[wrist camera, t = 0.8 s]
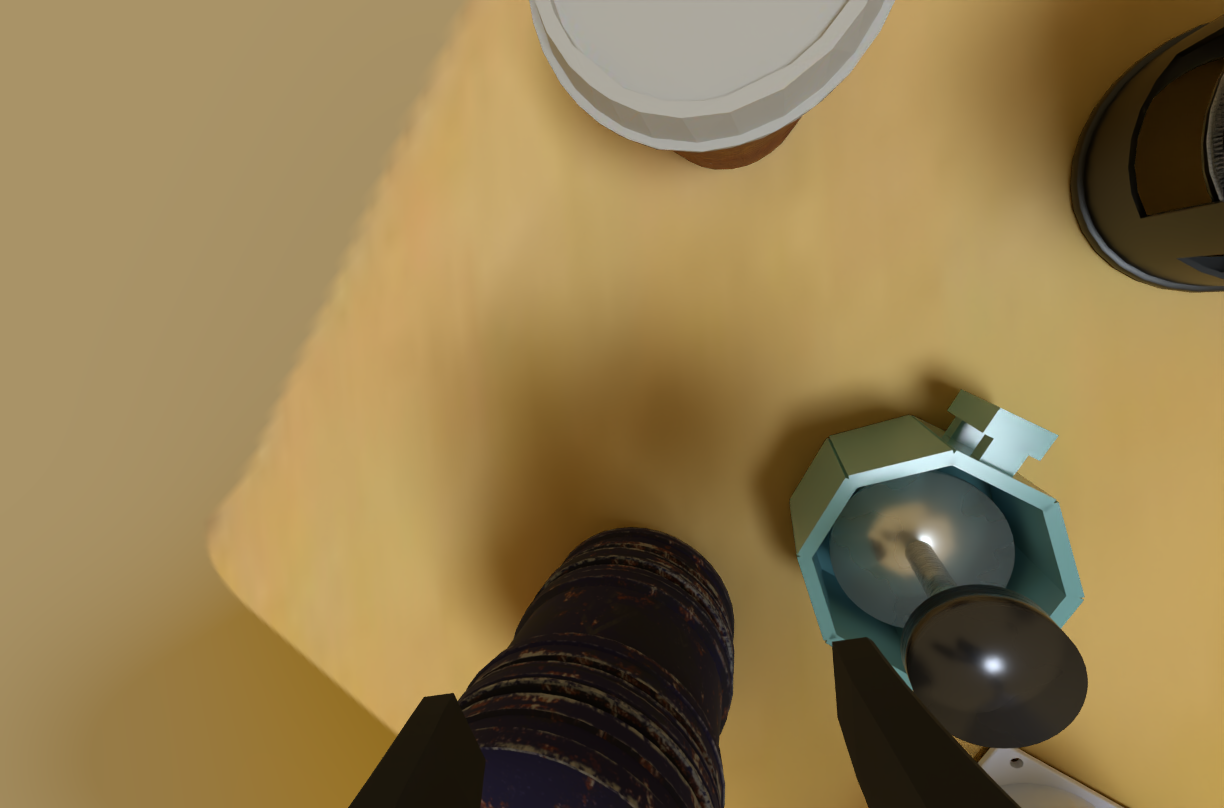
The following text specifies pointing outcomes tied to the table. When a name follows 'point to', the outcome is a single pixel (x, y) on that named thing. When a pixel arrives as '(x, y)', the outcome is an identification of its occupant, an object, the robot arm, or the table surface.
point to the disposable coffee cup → (705, 67)
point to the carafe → (969, 449)
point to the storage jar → (611, 683)
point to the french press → (1107, 179)
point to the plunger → (958, 609)
